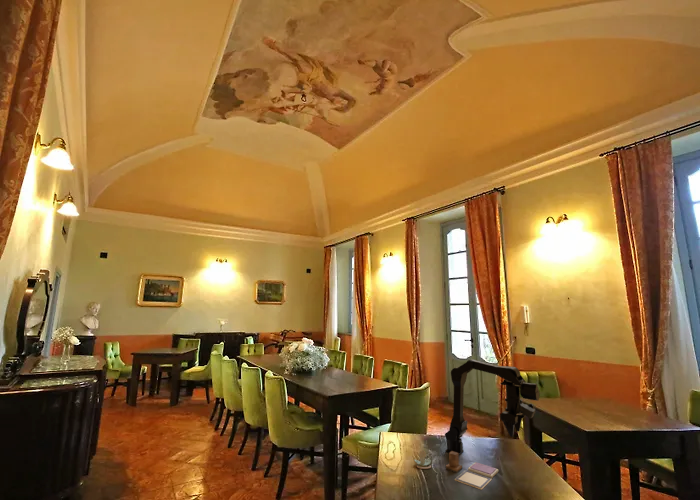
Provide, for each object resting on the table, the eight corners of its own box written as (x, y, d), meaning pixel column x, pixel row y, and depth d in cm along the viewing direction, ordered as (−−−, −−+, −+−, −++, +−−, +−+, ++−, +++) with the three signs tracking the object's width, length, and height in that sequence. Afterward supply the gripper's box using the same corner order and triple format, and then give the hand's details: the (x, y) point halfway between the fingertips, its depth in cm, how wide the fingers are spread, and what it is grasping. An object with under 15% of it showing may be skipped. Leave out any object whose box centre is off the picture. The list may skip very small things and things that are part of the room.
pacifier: (433, 470, 152) (429, 463, 158) (433, 454, 152) (429, 448, 158) (417, 470, 151) (413, 463, 157) (417, 454, 152) (413, 448, 158)
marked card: (454, 480, 142) (454, 478, 142) (465, 471, 151) (465, 469, 151) (481, 489, 135) (481, 488, 135) (491, 479, 144) (491, 478, 144)
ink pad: (468, 470, 151) (468, 467, 152) (475, 464, 157) (475, 461, 158) (491, 478, 145) (491, 474, 145) (498, 471, 151) (498, 468, 151)
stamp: (446, 469, 152) (445, 453, 153) (451, 465, 156) (450, 449, 157) (457, 473, 149) (456, 456, 150) (462, 469, 153) (461, 452, 154)
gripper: (526, 404, 145) (528, 444, 143) (538, 396, 159) (540, 433, 157) (498, 399, 153) (500, 437, 150) (512, 391, 166) (513, 427, 164)
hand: (514, 433), depth 155 cm, fingers open, 9 cm apart
